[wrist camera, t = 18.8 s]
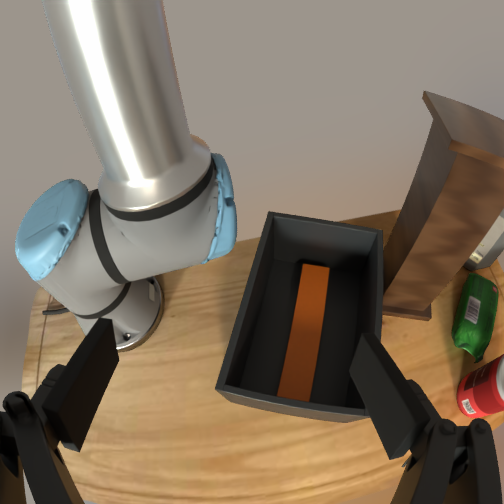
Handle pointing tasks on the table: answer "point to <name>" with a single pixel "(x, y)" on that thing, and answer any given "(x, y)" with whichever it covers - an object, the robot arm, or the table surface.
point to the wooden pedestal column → (444, 206)
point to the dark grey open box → (282, 311)
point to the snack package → (475, 315)
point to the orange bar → (305, 334)
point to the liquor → (488, 246)
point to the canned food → (483, 390)
